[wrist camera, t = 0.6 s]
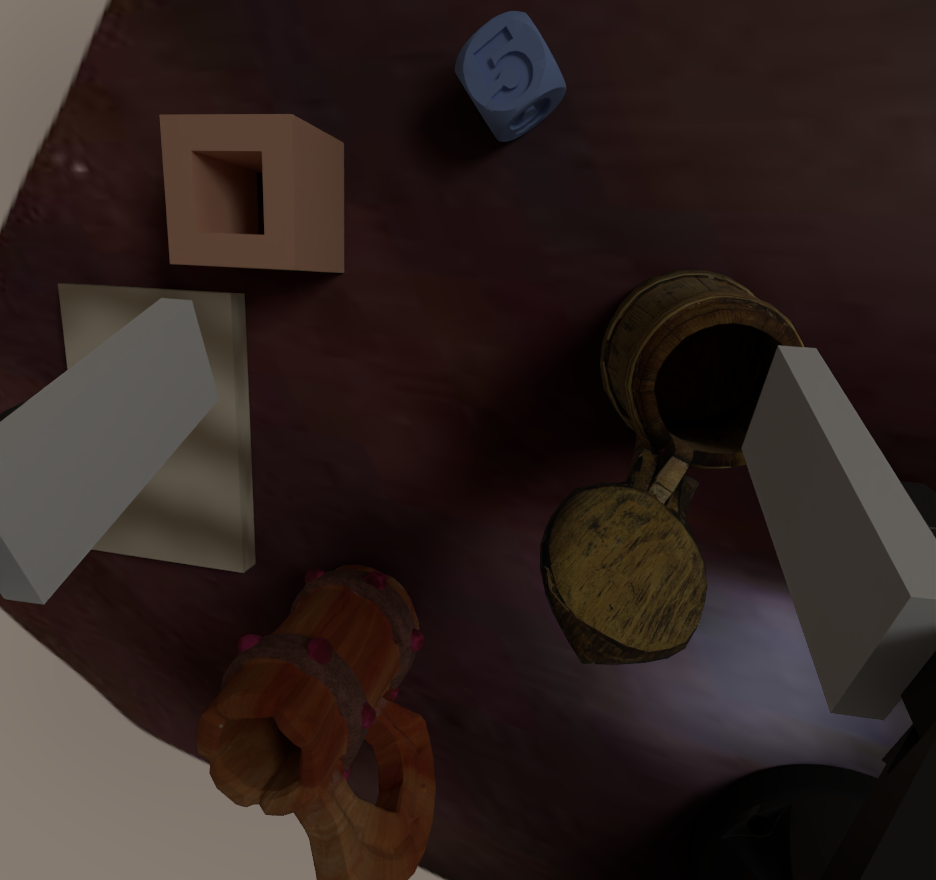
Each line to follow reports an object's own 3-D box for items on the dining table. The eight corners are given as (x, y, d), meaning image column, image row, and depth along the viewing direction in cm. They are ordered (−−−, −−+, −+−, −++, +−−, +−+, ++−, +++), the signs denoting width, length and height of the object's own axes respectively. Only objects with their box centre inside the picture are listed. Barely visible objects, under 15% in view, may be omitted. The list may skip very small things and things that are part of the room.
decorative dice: (527, 30, 31) (517, -5, 27) (569, 100, 32) (564, 74, 28) (464, 84, 32) (444, 56, 29) (504, 150, 33) (491, 132, 29)
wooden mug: (525, 446, 36) (455, 588, 19) (663, 237, 32) (730, 179, 15) (655, 530, 36) (701, 750, 19) (812, 328, 32) (1057, 375, 14)
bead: (344, 272, 36) (295, 269, 30) (236, 267, 37) (169, 264, 32) (343, 143, 34) (291, 114, 29) (230, 142, 36) (159, 114, 30)
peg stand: (255, 563, 42) (102, 683, 29) (104, 540, 45) (-98, 642, 32) (244, 293, 38) (59, 296, 25) (77, 283, 40) (-172, 281, 27)
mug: (286, 577, 42) (122, 726, 28) (377, 520, 39) (248, 651, 25) (408, 746, 43) (311, 973, 29) (504, 701, 41) (449, 925, 26)
